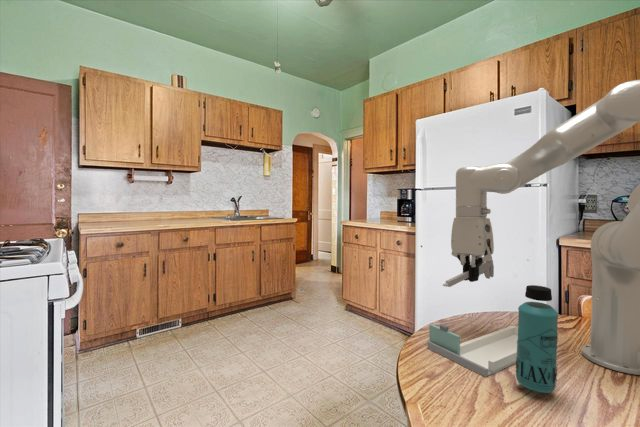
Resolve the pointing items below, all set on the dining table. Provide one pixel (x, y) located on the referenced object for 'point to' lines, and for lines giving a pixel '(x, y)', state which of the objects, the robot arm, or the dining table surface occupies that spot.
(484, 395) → the dining table surface
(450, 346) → the gate
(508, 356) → the housing
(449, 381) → the dining table surface
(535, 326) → the beverage bottle
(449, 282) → the caliper
